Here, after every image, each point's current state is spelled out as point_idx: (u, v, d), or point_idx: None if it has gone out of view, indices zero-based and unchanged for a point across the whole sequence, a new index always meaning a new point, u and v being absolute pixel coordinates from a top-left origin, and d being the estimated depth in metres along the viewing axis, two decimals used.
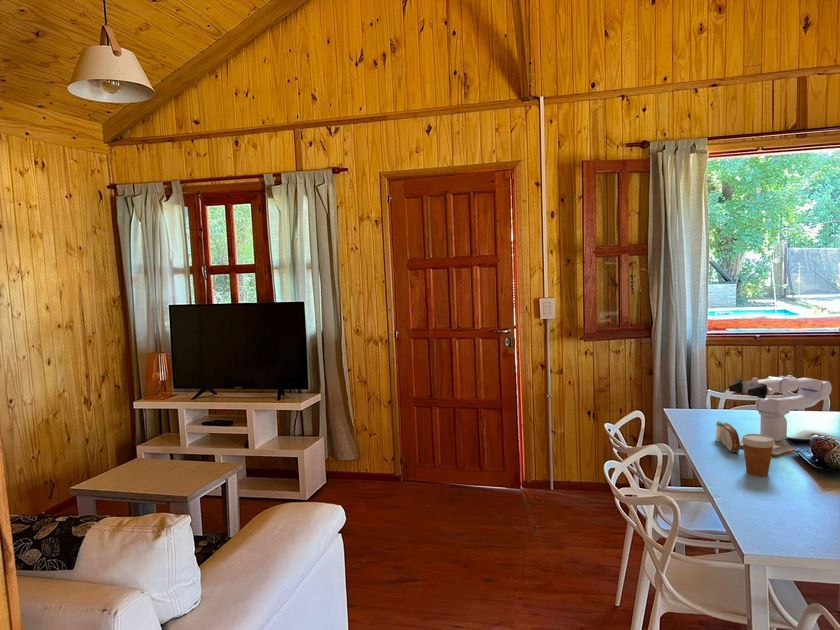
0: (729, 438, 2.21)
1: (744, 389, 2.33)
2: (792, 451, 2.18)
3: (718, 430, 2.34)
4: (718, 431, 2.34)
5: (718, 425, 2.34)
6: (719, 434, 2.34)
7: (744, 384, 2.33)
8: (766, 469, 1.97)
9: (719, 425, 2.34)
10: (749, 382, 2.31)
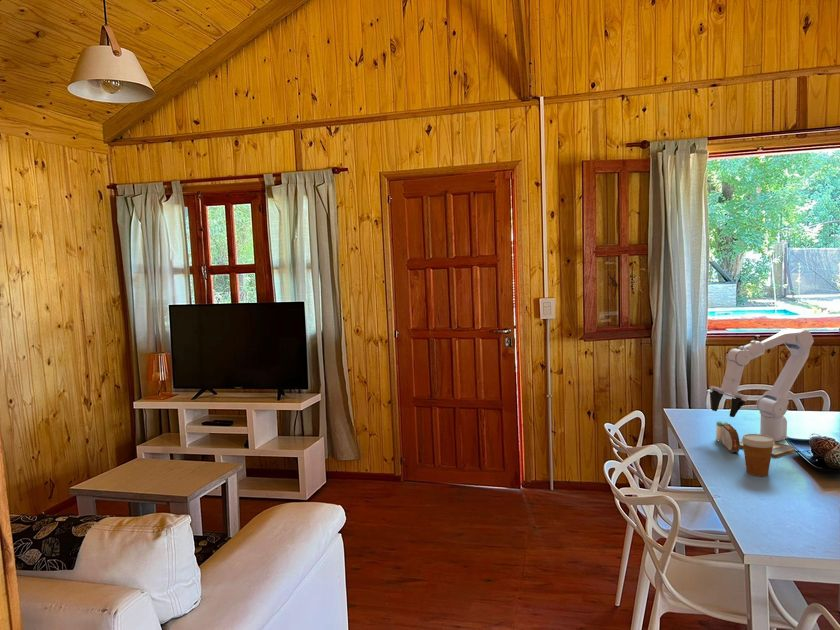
0: (729, 438, 2.21)
1: None
2: (792, 451, 2.18)
3: (718, 430, 2.34)
4: (718, 431, 2.34)
5: (718, 425, 2.34)
6: (719, 434, 2.34)
7: (718, 389, 2.36)
8: (766, 469, 1.97)
9: (719, 425, 2.34)
10: (721, 390, 2.33)
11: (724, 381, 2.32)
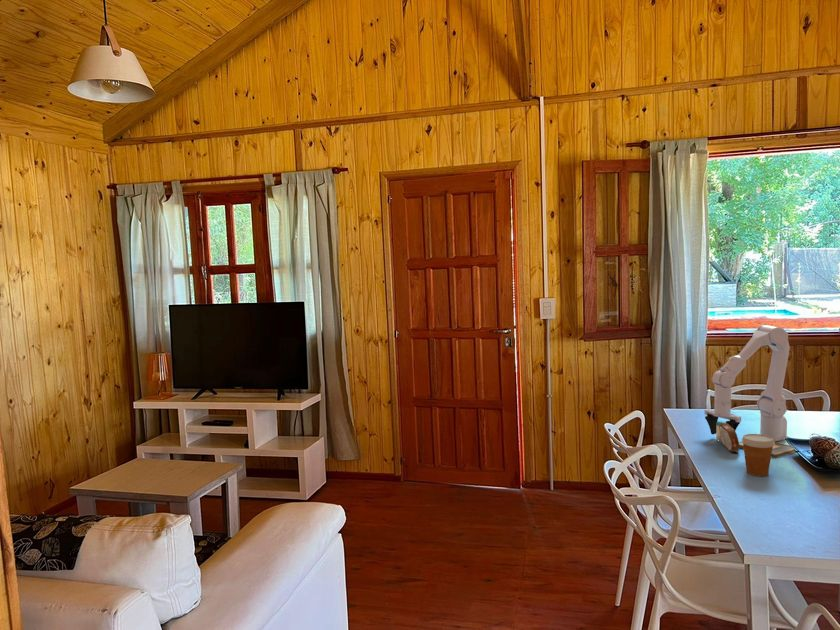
0: (728, 438, 2.22)
1: None
2: (792, 451, 2.18)
3: (718, 430, 2.34)
4: (718, 431, 2.34)
5: (718, 425, 2.34)
6: (719, 434, 2.34)
7: None
8: (766, 469, 1.97)
9: None
10: None
11: (715, 405, 2.34)
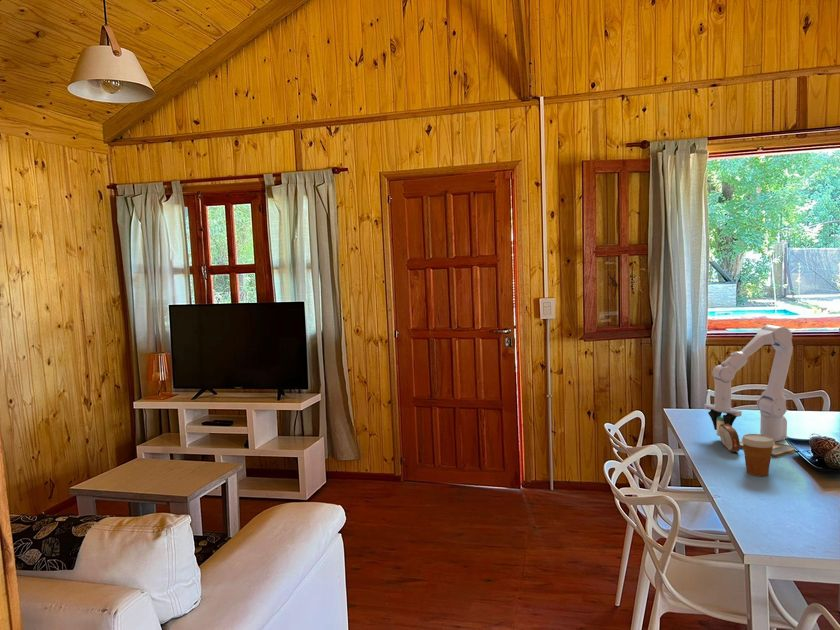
0: (729, 438, 2.21)
1: None
2: (792, 451, 2.18)
3: (718, 425, 2.34)
4: (718, 426, 2.34)
5: (718, 420, 2.34)
6: None
7: None
8: (766, 469, 1.97)
9: (719, 420, 2.34)
10: None
11: (715, 400, 2.34)
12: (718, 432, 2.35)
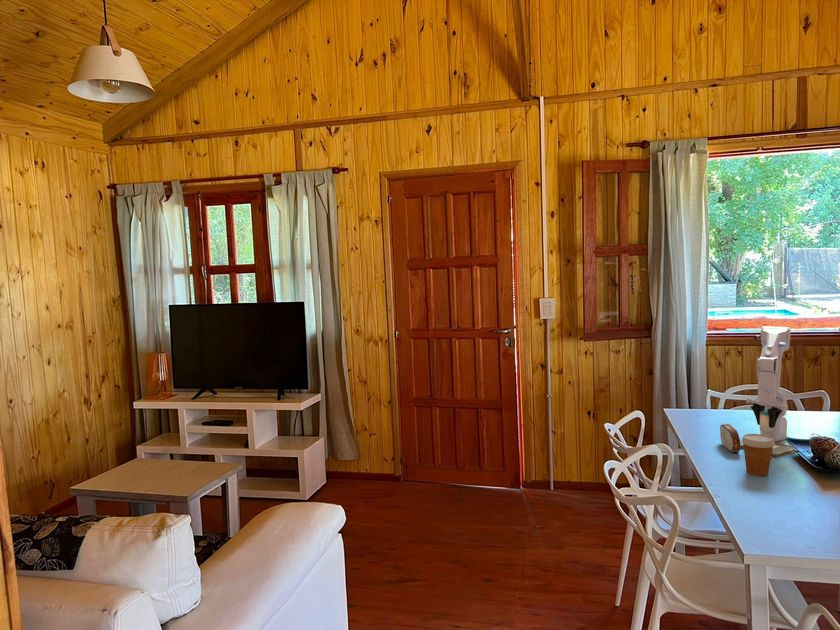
0: (729, 438, 2.21)
1: None
2: (792, 451, 2.18)
3: (762, 419, 2.22)
4: (762, 420, 2.22)
5: (762, 414, 2.22)
6: (763, 423, 2.22)
7: None
8: (766, 469, 1.97)
9: (763, 414, 2.22)
10: None
11: (759, 393, 2.22)
12: (761, 427, 2.23)
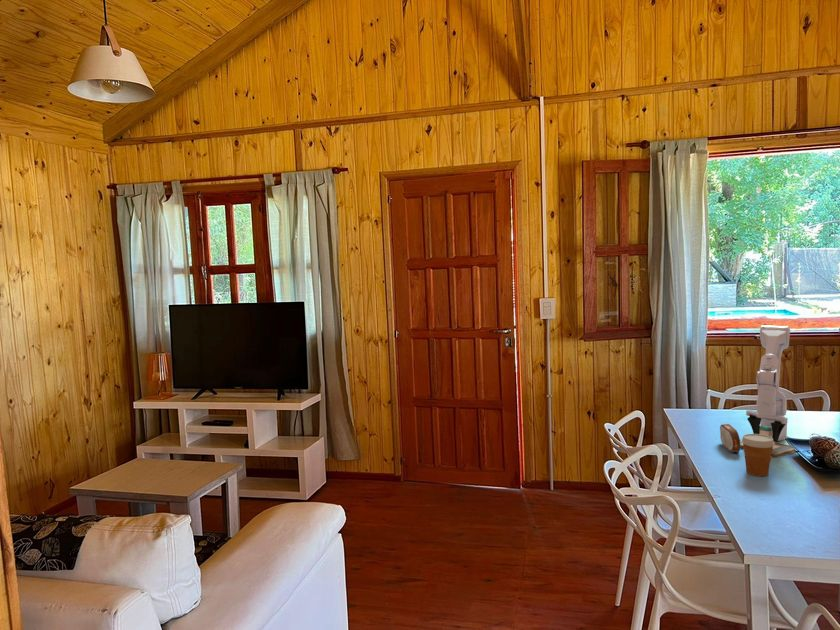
0: (729, 438, 2.21)
1: None
2: (792, 451, 2.18)
3: None
4: None
5: (762, 429, 2.23)
6: None
7: None
8: (766, 469, 1.97)
9: (763, 429, 2.22)
10: None
11: (759, 406, 2.22)
12: None
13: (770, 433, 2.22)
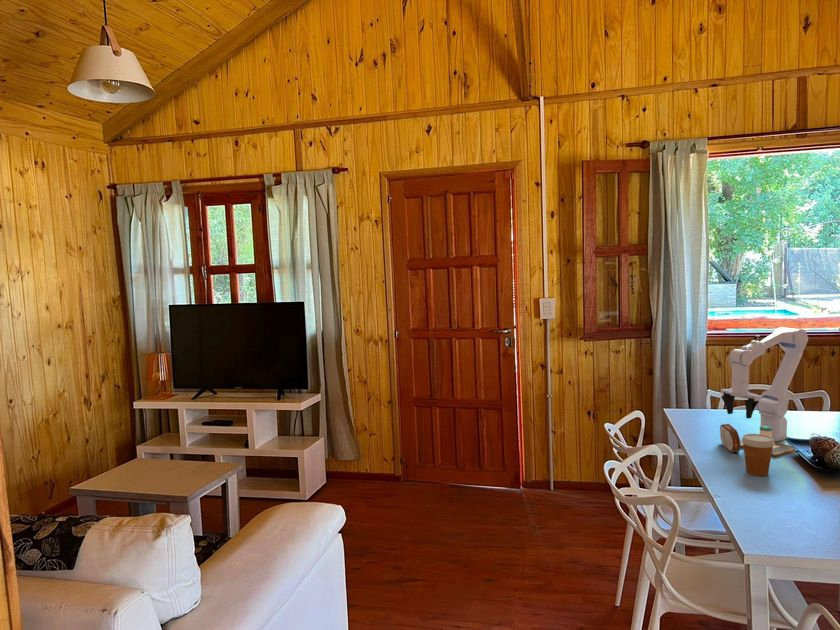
0: (729, 438, 2.21)
1: None
2: (792, 451, 2.18)
3: None
4: None
5: (762, 429, 2.23)
6: None
7: (729, 392, 2.33)
8: (766, 469, 1.97)
9: (763, 429, 2.22)
10: None
11: (733, 384, 2.30)
12: None
13: (770, 433, 2.22)
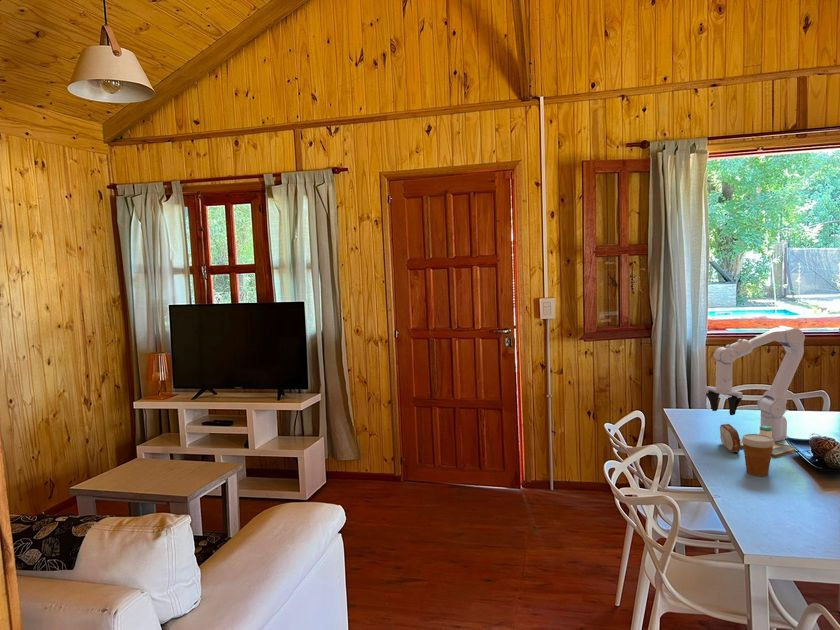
0: (729, 438, 2.21)
1: None
2: (792, 451, 2.18)
3: None
4: None
5: (762, 429, 2.23)
6: None
7: None
8: (766, 469, 1.97)
9: (763, 429, 2.22)
10: None
11: (717, 382, 2.35)
12: None
13: (770, 433, 2.22)
